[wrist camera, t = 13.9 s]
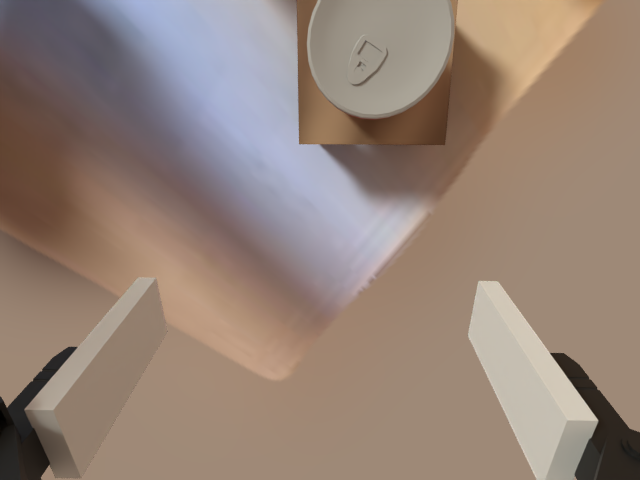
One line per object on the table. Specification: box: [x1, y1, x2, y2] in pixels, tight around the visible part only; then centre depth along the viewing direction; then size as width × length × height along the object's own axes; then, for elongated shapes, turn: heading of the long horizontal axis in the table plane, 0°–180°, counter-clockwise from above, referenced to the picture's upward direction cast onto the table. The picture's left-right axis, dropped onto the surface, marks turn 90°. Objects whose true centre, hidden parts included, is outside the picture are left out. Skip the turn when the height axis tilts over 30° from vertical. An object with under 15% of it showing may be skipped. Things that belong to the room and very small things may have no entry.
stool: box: [297, 0, 458, 145], centre depth 34 cm, size 12×12×7 cm
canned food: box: [307, 0, 454, 120], centre depth 26 cm, size 8×8×11 cm
